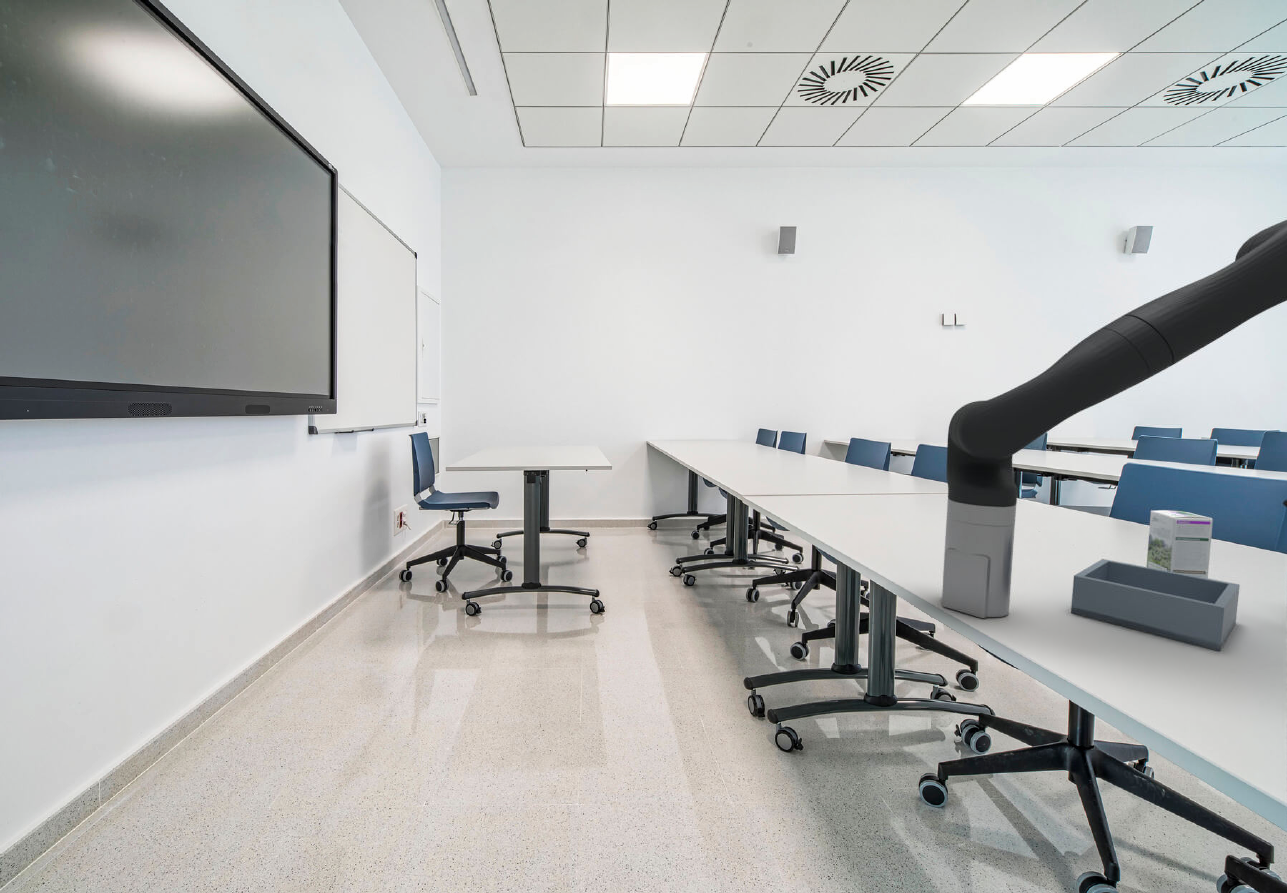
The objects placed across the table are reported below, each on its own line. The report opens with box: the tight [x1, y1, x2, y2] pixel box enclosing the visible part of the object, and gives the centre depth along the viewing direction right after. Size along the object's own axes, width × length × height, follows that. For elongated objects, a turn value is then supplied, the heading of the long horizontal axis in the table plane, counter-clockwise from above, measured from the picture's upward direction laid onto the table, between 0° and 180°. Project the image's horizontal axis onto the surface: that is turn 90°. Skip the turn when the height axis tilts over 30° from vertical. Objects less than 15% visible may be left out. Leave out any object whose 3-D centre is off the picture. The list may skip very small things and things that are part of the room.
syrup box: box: [1146, 509, 1214, 579], centre depth 91 cm, size 6×6×14 cm
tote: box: [1070, 558, 1241, 652], centre depth 81 cm, size 16×16×6 cm
